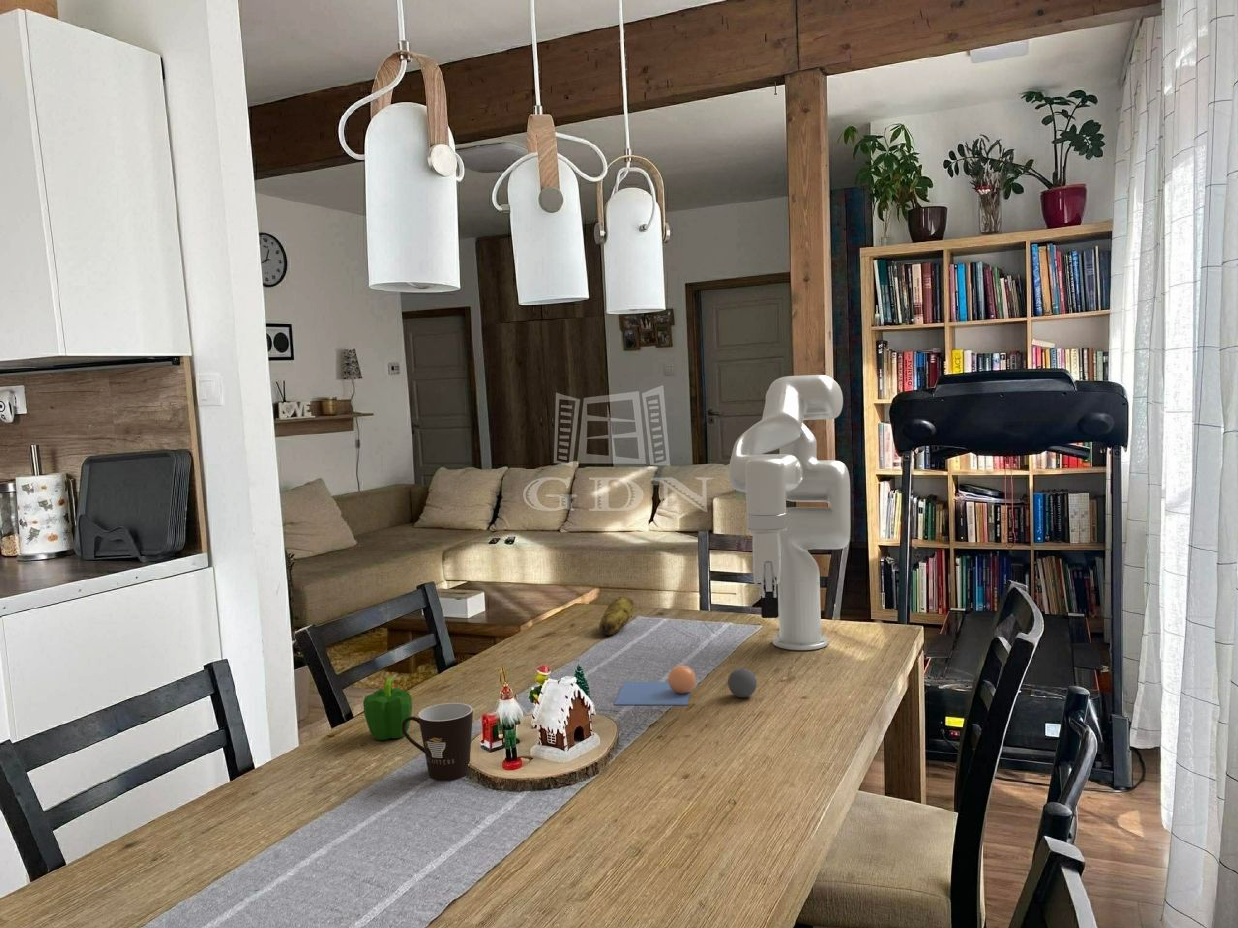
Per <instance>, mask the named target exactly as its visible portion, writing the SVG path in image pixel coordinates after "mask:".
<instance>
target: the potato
mask: <svg viewBox="0 0 1238 928" xmlns="http://www.w3.org/2000/svg"><path fill="white" fill-rule="evenodd" d="M634 611H635V603H634V601H633V600H632V599H630V598H629V597H625V596H620V597H619V596H618V597H615V598H614V599H613V600H611V602H610V603H609V605H608V606H607V608H606V609H605V611H604V613H603V616H602V617H601V618H600V622H599V627H598V628H599V630H600V632H601V633H602V634H603V635H605V636H607V635H609V636H612V635H614V634H616V633H617V632H619V631H620V630H621V629H622V628H624V626H626V624H627V623H628V621H629V620H630V619H631V618H633V614H634Z"/></svg>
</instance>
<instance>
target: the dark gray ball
mask: <svg viewBox="0 0 1238 928" xmlns="http://www.w3.org/2000/svg"><path fill="white" fill-rule="evenodd" d="M727 679H728V680H727V686H728V689H729V691H730V692H731V693H732V695H734V696H735V697H737V698H749V696H752V694H754V693H755V691H756V688H757V685H758V683H757V678H756V675H755V674H754V673H753V672H752V671H751V670H750V669H747V668H743V667H742V668H739V667H738V668H736V669H734V670H733V671H732V672H731V673H730V674H729V676H728V678H727Z"/></svg>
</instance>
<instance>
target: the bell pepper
mask: <svg viewBox="0 0 1238 928" xmlns="http://www.w3.org/2000/svg"><path fill="white" fill-rule="evenodd" d="M392 682H393V678H392V677H388V678H387V679H386V680H385V684H384V689H383V688H379V689H377V690H376V691H374V692H373V693H372V694H368V695H365V697H364V700H363V704H362V705H363V706H362V707H363V714H364V718H365V721H366V724H367V726H368V729H369V732H370V734H371V737H373V738H374V739H375V740H378V741H384V740H385V741H386V740H388V739H400V738H403V737H405V735H404V734H403V732H402V723H403V721H404V720H405V719H407V718H408V717H412V712H413V698H412V696H411V694H410V691H406V690H403V689H401V688H399V686H398V687H397V686H396V687H393V688H391V687H392V685H391V684H392ZM410 725H411V721H408V722H407V723H406V727H405V728H406V732H407V733H408V731H409V729H410Z"/></svg>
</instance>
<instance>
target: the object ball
mask: <svg viewBox="0 0 1238 928" xmlns="http://www.w3.org/2000/svg"><path fill="white" fill-rule="evenodd" d="M667 682H668V684H669V686H670V688H671V689H672V690H673V691H674V692H676V693H678V694H686V693H688V692H690V693H691V691H692V690H693V689H694V688H695V686H696V682H697V677H696V674H695V671H694V670H693V669H692V668H690V666H687V665H682V664H681V665H676V666H674V667H672V669H671V670H670V671H669V673H668V676H667Z"/></svg>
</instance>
